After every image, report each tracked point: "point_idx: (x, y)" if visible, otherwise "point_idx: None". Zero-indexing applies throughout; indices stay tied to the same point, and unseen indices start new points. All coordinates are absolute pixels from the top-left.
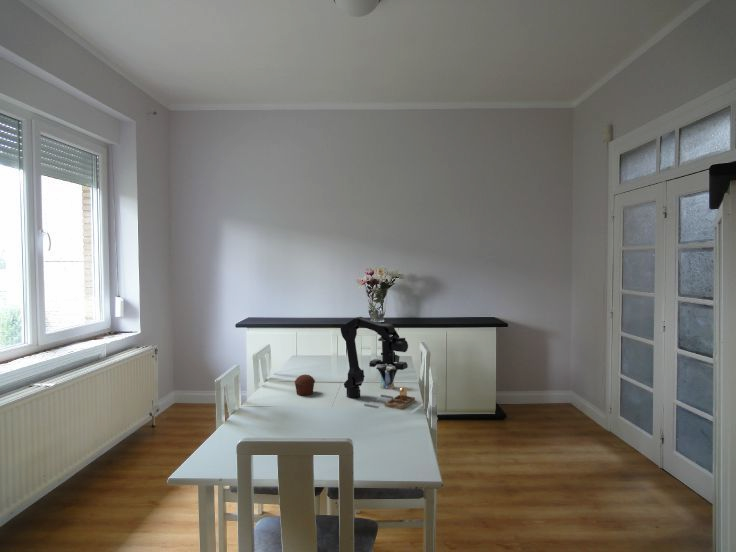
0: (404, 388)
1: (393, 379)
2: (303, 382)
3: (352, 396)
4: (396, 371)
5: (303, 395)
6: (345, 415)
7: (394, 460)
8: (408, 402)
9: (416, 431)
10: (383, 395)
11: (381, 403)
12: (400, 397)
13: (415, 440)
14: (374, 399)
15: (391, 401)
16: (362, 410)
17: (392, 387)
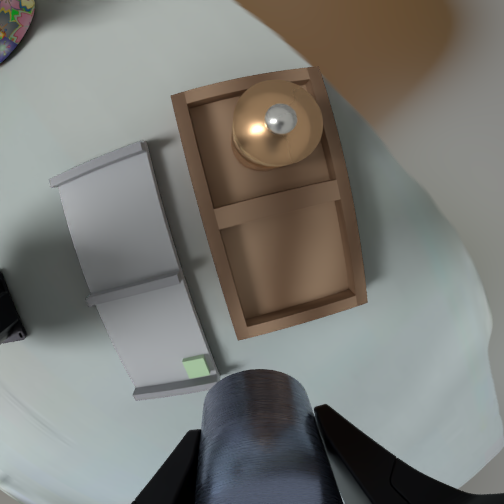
0: (305, 130)
1: (349, 429)
2: None
3: (3, 341)
4: (462, 498)
5: None
6: None
7: (454, 475)
8: (346, 184)
9: (475, 388)
10: (71, 178)
11: (171, 300)
12: (256, 169)
13: (478, 417)
14: (100, 303)
15: (227, 256)
16: (175, 418)
17: (28, 17)
